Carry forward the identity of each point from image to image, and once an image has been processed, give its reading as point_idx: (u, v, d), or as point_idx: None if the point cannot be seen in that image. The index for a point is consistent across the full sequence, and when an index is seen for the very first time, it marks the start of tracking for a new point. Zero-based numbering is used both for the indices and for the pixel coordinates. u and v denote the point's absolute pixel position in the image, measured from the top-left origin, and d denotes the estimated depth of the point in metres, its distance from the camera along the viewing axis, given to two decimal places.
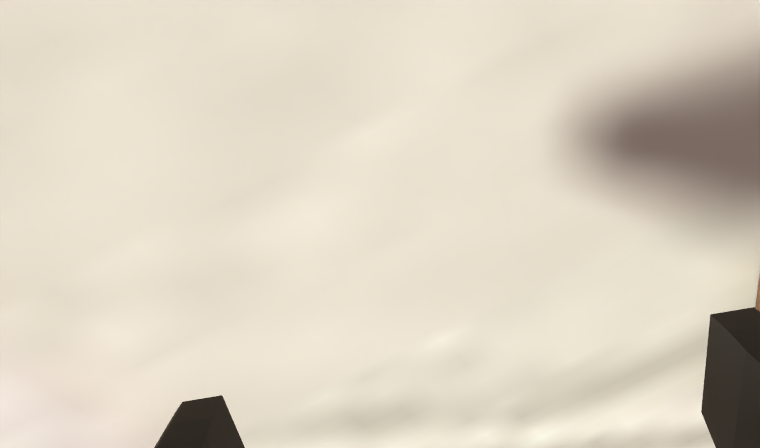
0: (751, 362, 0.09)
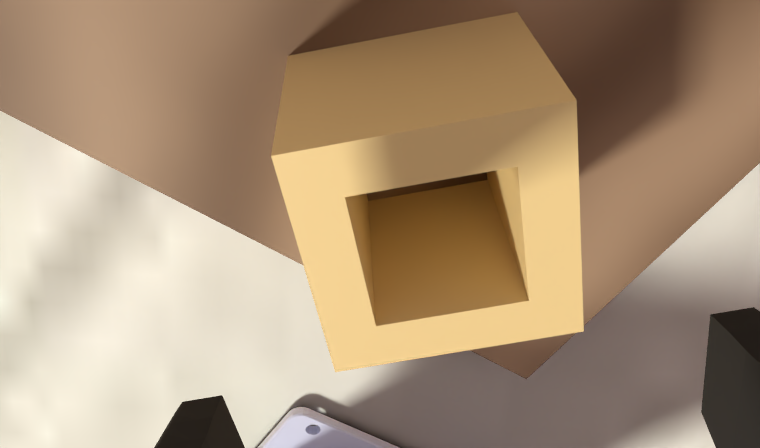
0: (751, 362, 0.09)
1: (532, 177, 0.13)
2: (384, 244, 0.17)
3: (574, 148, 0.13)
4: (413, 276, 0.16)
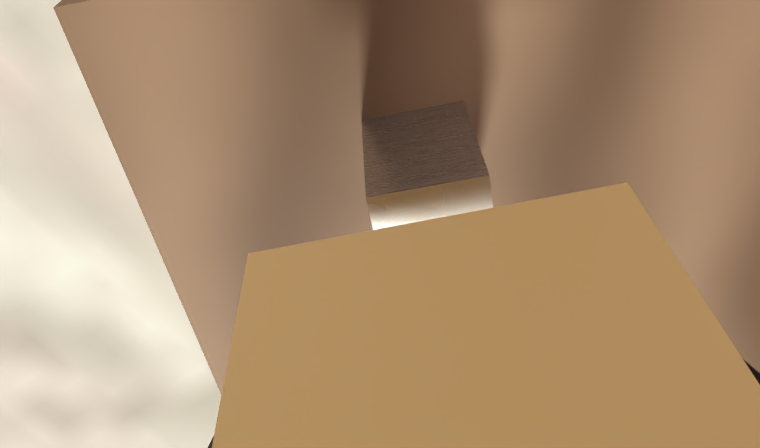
0: None
1: None
2: None
3: None
4: None
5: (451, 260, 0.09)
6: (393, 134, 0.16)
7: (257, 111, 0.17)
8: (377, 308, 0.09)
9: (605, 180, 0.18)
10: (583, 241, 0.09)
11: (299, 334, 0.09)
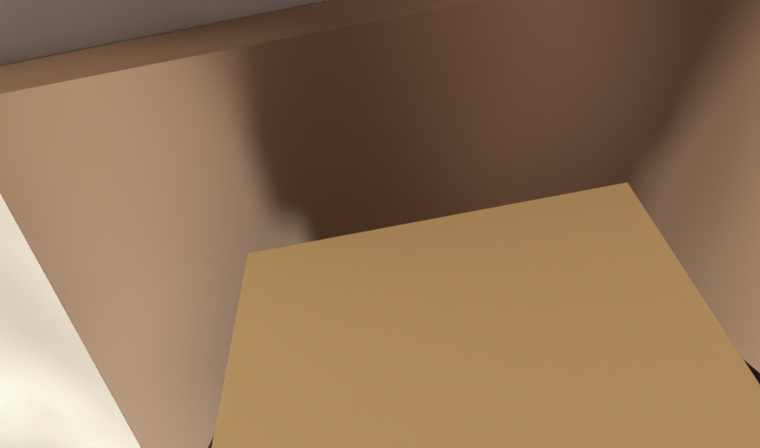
0: None
1: None
2: None
3: None
4: None
5: (451, 260, 0.09)
6: None
7: (232, 228, 0.13)
8: (377, 308, 0.09)
9: None
10: (583, 241, 0.09)
11: (299, 334, 0.09)
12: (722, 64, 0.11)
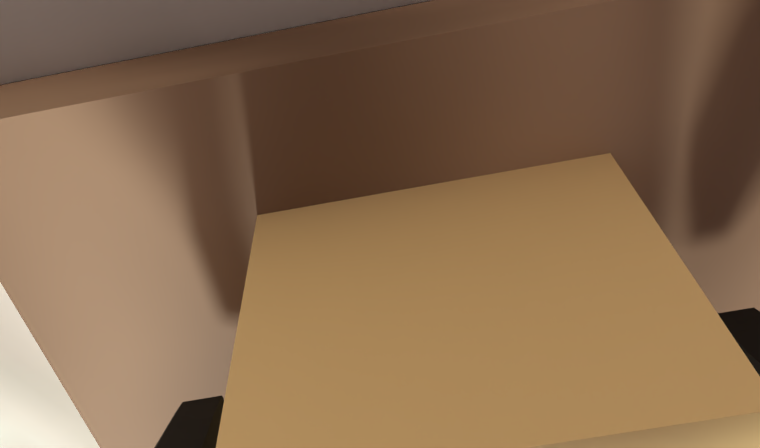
0: (751, 362, 0.09)
1: None
2: None
3: None
4: None
5: (447, 220, 0.10)
6: None
7: (222, 267, 0.12)
8: (378, 261, 0.10)
9: None
10: (568, 203, 0.10)
11: (306, 283, 0.09)
12: (756, 92, 0.10)
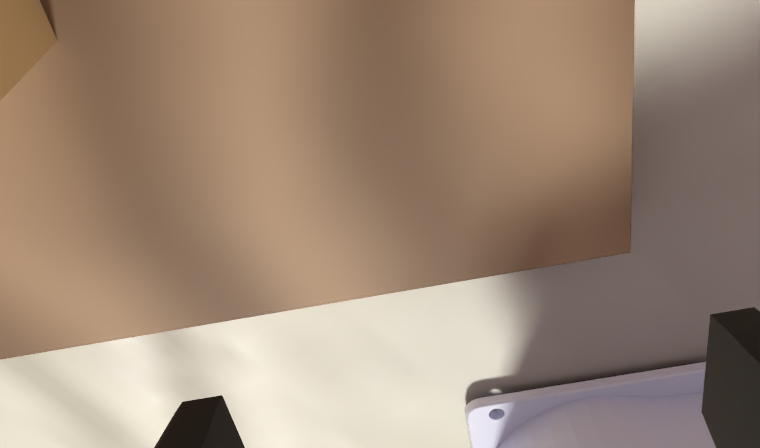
0: (751, 362, 0.09)
1: None
2: None
3: None
4: None
5: None
6: None
7: None
8: None
9: None
10: None
11: None
12: None
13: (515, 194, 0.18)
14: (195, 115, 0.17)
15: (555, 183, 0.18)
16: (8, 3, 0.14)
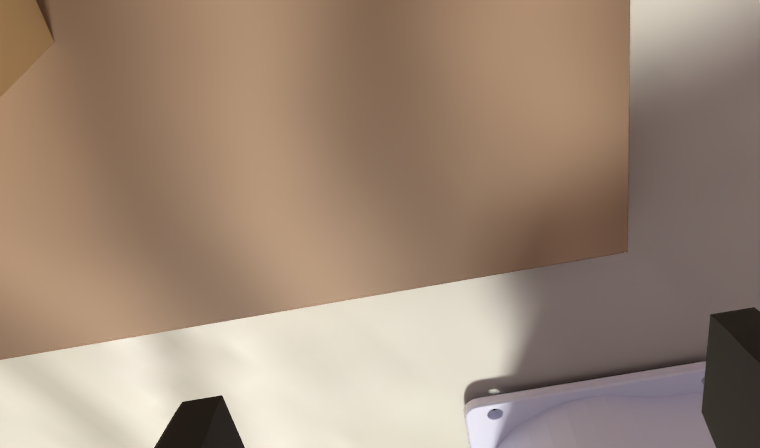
0: (751, 362, 0.09)
1: None
2: None
3: None
4: None
5: None
6: None
7: None
8: None
9: None
10: None
11: None
12: None
13: (512, 194, 0.18)
14: (192, 115, 0.17)
15: (552, 183, 0.18)
16: (4, 4, 0.14)
